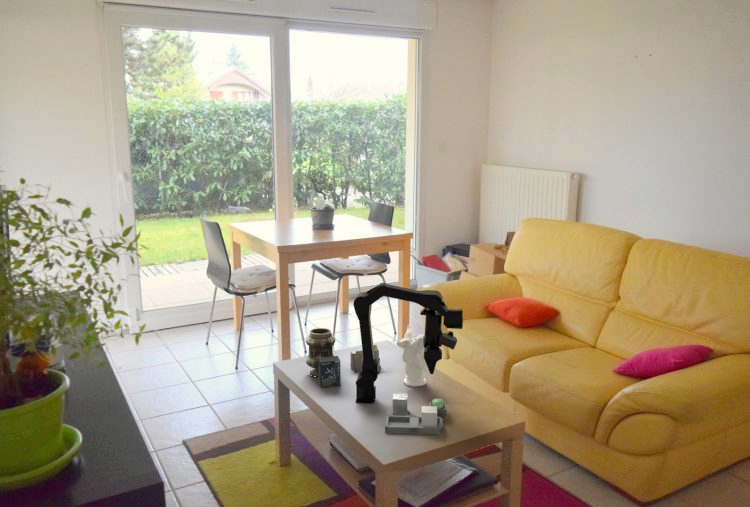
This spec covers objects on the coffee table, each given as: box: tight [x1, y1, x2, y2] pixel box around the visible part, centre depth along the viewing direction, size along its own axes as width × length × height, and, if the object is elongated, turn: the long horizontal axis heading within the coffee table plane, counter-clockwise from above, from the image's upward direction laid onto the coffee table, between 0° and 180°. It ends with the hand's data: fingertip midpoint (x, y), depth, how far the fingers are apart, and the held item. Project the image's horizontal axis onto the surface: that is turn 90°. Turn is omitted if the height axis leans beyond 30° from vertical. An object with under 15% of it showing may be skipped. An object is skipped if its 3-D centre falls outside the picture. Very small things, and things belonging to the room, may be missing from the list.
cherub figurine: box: [396, 324, 429, 388], centre depth 251 cm, size 12×12×22 cm
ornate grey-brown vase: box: [305, 327, 336, 377], centre depth 262 cm, size 12×12×18 cm
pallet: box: [384, 405, 444, 435], centre depth 216 cm, size 19×9×6 cm, turn 86°
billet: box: [392, 393, 409, 416], centre depth 228 cm, size 5×5×6 cm
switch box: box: [428, 401, 448, 420], centre depth 225 cm, size 6×6×4 cm
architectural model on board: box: [350, 344, 380, 371], centre depth 269 cm, size 11×3×10 cm, turn 108°
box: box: [318, 355, 341, 388], centre depth 252 cm, size 8×6×11 cm
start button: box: [431, 398, 444, 409], centre depth 225 cm, size 4×4×4 cm
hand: (431, 368), depth 233 cm, fingers open, 9 cm apart
